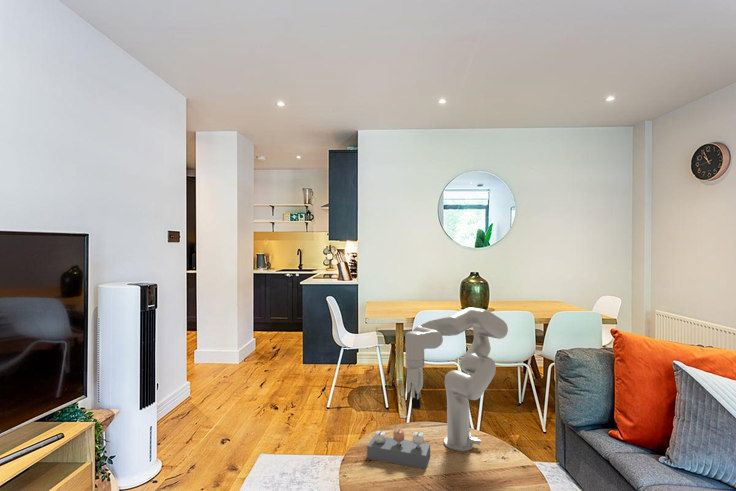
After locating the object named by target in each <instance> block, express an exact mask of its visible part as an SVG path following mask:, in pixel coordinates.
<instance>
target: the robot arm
mask: <svg viewBox="0 0 736 491" xmlns="http://www.w3.org/2000/svg"><path fill="white" fill-rule="evenodd" d="M507 324H508V323H506V322H505V320H504V319H502V318H500V317H499V316H497V315H495V313H492V312H491V311H489V310H487V309H484V308H478V307H467V308H463V309H462V310H459V311H457V312H456V313H454V314H451V315H449V316H445V317H441V318H437V319H432V320H428V321H425V322H423V323H421V324H419V325H416V327H414V328H413V330H410V331H407V332H406V333H405V339H404V340H405V341H404V343H405V366H406V368H407V370H406V393H408V394H409V393H411V396H410V397H411V409H415V410H420V408H421V390H422V389H423V386H424V373H423V369H424V367H425V364H426V363H425V350H426V349H428V350H429V349H431V350H432V349H433V350H435V349H438V348H439V347H440V346H442V344H443V341H444V338H443V336H444V337H451V336H458V335H460V334H462V333H463V332H465V331H467V330H469V329H472V332H473V341H472V343H471V345H470V347H469V348H468V349H467V350H466V352H465V354H464V355H463V357H461V360H460V363H459V367H460V369H461V370H462V371H460V370H455V369H454V370H453V369H452V370H450V371H448V372H447V373H446V374H445V378H444V388H445V393H446V410H447V411H446V412H447V413H446V415H447V416H446V418H447V419H446V422H447V424H446V428H447V429H446V430H447V432H446V437H445V438H444V439H443V444H444V446H445V447H446V448H448V449H449V450H452V451H456V452H468V451H470V450H472V449H473V448H474V445H479V446H481V439H479V438H478V436H477V437H475V436H472V433H471V431H470V430H471V429H470V426H471V425H470V422H471V421H470V402H469V400H470V401H471V400H472V401H477V400H478V399H480V398H481V397H482V395H484V393H485V391H486V390H487V388H488V386H489V385H490V383H491V382H492V380H493V378H494V377H495V375H496V371H497V365H496V362H495V361H494V360H493V358H491V357H490V356H489V355H490V353H491V343H490V339H489V338H492V339H498V340H500V339H505V337H507V335H508V332H509V331H508V330H509V327H508V325H507ZM410 391H411V392H410Z"/></svg>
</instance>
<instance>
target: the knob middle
mask: <svg viewBox="0 0 736 491" xmlns="http://www.w3.org/2000/svg"><path fill="white" fill-rule="evenodd" d="M392 434H393V435H392V438H393V439H394V440H395V441H397V446H400V441H403V440H405V431H404V429H400V428H397V429H394V430H393V433H392Z"/></svg>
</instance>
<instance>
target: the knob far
mask: <svg viewBox="0 0 736 491" xmlns="http://www.w3.org/2000/svg"><path fill="white" fill-rule="evenodd" d="M374 435H375V442H376V443H384V442H385V437H386V432H385V431H382V430H377V431H375V432H374Z"/></svg>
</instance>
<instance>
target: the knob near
mask: <svg viewBox="0 0 736 491" xmlns="http://www.w3.org/2000/svg"><path fill="white" fill-rule="evenodd" d="M424 437H425V436H424V433H423V432H420V431H414V432H413V433H412V441H413V443H414V444H417V449H420V444H423V443H425V438H424Z"/></svg>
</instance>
